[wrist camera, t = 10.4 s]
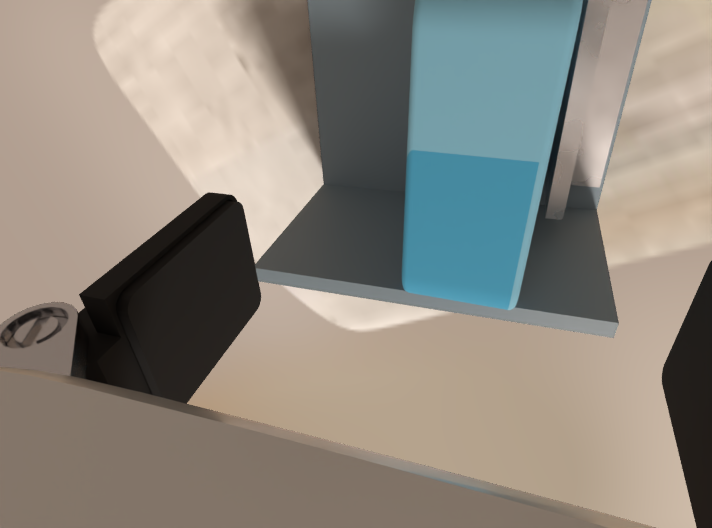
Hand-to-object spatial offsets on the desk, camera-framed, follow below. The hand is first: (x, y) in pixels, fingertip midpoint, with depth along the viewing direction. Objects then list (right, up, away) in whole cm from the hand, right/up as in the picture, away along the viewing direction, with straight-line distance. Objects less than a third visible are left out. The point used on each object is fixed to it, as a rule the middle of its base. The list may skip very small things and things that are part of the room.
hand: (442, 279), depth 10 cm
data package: (+6, +10, +15) cm, 19 cm away
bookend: (+10, +9, +14) cm, 19 cm away
